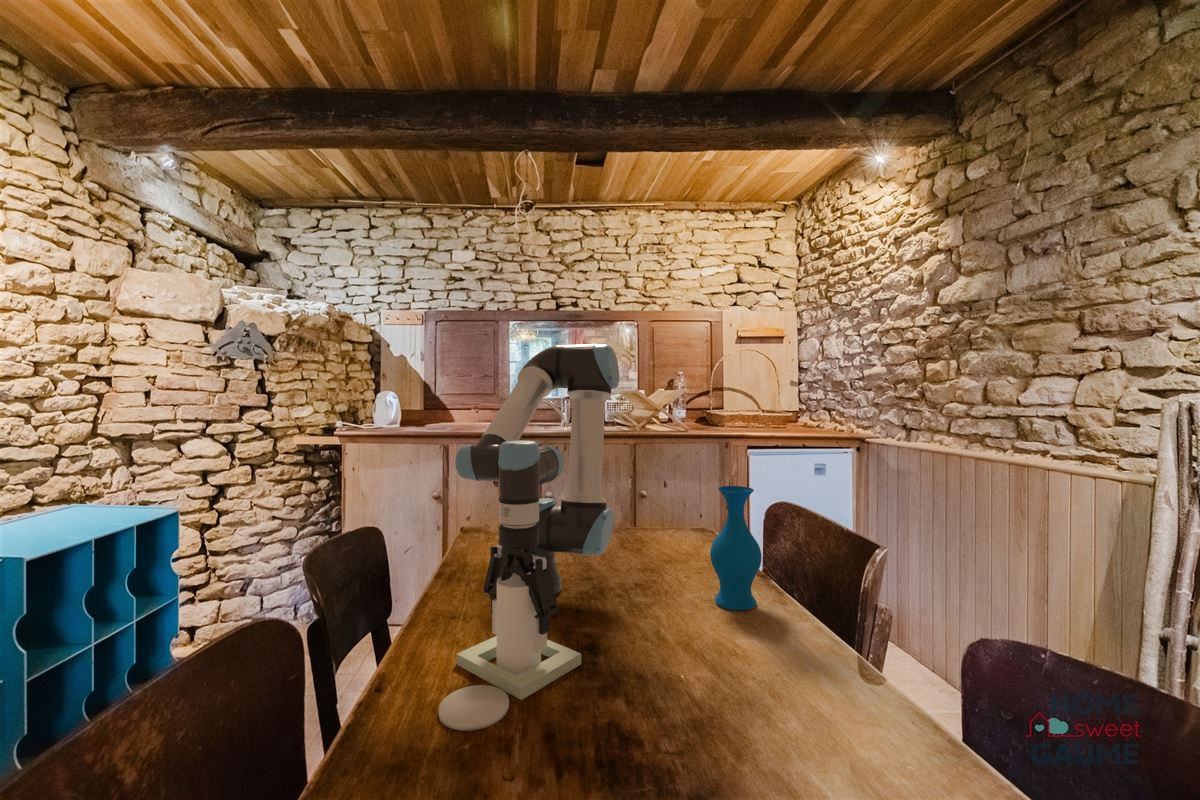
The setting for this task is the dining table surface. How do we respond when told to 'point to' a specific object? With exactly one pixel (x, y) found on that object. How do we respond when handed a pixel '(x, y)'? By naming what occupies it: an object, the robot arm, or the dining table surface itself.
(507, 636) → the cup
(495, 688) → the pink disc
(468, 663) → the pale green rectangular frame
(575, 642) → the dining table surface
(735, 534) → the vase
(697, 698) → the dining table surface
